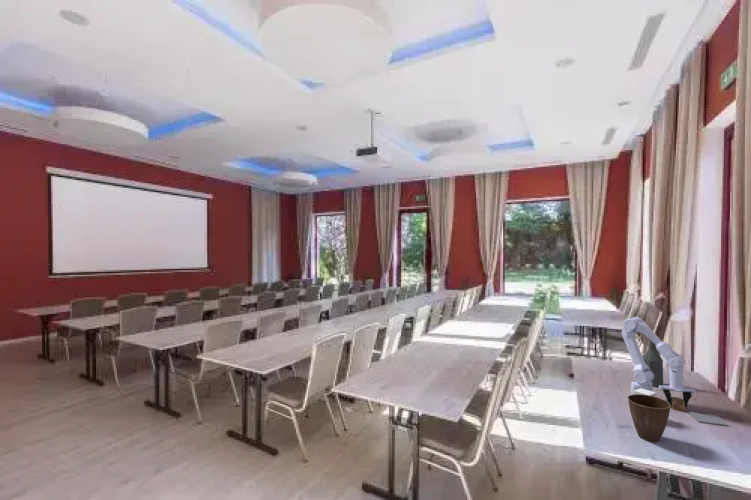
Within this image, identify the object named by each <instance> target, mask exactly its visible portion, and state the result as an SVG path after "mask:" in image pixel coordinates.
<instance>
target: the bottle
mask: <svg viewBox="0 0 751 500" xmlns="http://www.w3.org/2000/svg"><path fill="white" fill-rule="evenodd" d="M648 339H649V338H648ZM642 357H643V359H644V362H645V364H646V365H647V366H648V367H649V369H650V370H651V371H652V372H653V374H654V379H653V380H652V387H653V388H659V385H663V386H664V360H663V359H662V357H661V356H660V353H658V350H657V349H656V345H655V344H654V343H653V342H652V341H651V340H650V339H649V341H648V348H647V350H646V352H645V353H644V354H643V355H642Z"/></svg>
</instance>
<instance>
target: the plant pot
mask: <svg viewBox="0 0 751 500" xmlns="http://www.w3.org/2000/svg"><path fill="white" fill-rule="evenodd" d="M627 400H628V401H627V402H628V407H629V411H630V415H631V419H632V422H633V424H634V425H633V426H634V428H635V430H636V434H637V435H638V437H640V439H643V440H644V441H647V442H652V443H658V442H659V441H660V440H661V438H662V437H663V435H664V433H665V430H666V428H667V424H668V420H669V416H670V412H671V407H670V406H671V405H670V404H669V403H668V402H667V400H665V399H662V398H659V397H653V396H648V395H640V394H634V395H631V394H630V395H628V396H627Z"/></svg>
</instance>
